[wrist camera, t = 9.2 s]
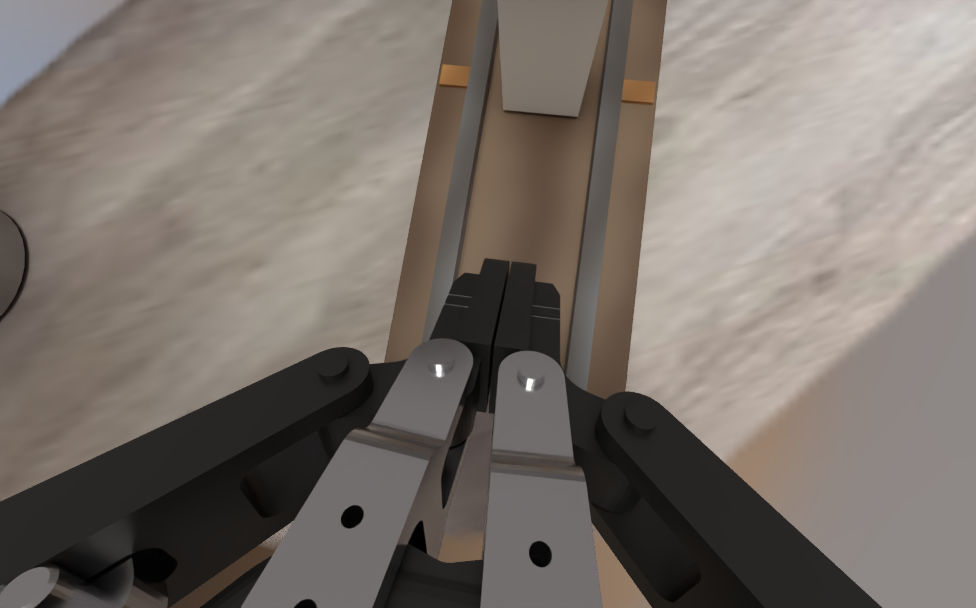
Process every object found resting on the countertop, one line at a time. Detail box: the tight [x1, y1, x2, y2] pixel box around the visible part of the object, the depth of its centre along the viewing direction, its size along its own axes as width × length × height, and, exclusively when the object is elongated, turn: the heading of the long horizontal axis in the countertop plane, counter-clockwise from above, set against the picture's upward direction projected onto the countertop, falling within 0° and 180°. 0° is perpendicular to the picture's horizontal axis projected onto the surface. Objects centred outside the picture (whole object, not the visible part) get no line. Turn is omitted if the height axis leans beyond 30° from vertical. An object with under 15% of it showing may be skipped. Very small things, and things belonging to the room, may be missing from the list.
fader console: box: [384, 0, 667, 402], centre depth 20 cm, size 12×24×4 cm, turn 171°
